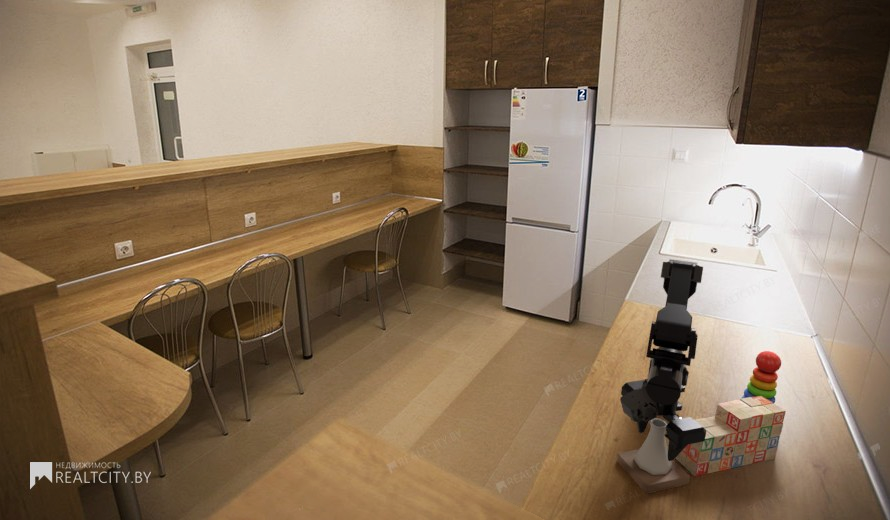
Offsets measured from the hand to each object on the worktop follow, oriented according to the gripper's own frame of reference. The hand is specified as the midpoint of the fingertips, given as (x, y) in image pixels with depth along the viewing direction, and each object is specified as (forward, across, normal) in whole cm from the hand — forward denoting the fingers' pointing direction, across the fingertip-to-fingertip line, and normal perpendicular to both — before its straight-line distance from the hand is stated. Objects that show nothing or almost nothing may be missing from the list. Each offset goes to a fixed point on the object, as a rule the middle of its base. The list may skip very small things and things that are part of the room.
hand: (655, 445), depth 104 cm
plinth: (+6, 0, 0) cm, 6 cm away
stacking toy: (+7, -9, +36) cm, 38 cm away
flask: (+5, 0, 0) cm, 5 cm away
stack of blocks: (+7, 0, +18) cm, 20 cm away
